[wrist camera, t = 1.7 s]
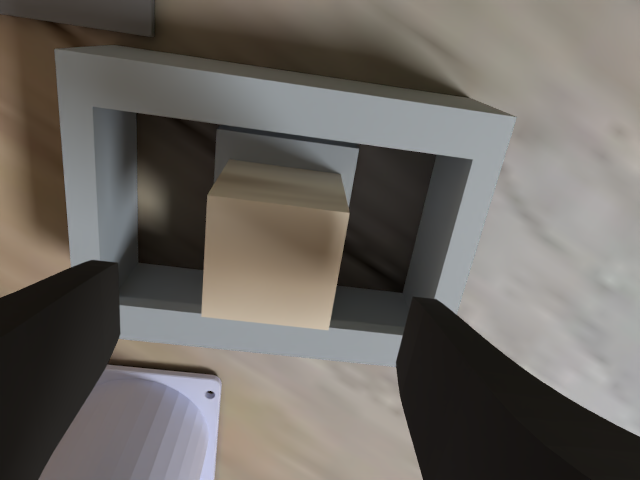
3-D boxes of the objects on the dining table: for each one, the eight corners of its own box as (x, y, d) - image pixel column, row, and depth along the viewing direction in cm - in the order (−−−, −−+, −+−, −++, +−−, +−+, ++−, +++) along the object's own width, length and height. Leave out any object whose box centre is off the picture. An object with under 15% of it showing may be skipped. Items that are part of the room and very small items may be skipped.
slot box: (415, 309, 23) (439, 371, 19) (120, 276, 22) (76, 334, 18) (470, 98, 19) (516, 117, 15) (114, 44, 18) (53, 48, 14)
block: (324, 271, 19) (328, 330, 15) (222, 259, 18) (201, 317, 15) (340, 174, 17) (349, 213, 13) (229, 159, 17) (207, 194, 13)
